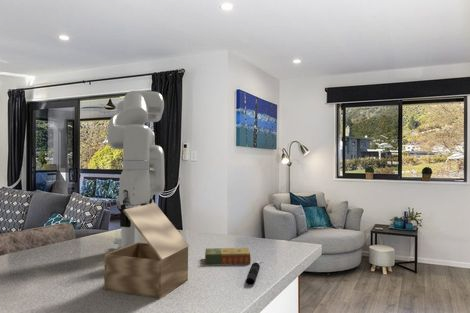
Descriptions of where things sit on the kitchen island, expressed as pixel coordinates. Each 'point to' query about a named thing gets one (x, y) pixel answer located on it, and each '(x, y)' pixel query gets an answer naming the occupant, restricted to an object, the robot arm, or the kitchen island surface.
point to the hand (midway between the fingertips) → (135, 223)
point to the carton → (227, 256)
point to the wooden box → (144, 271)
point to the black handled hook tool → (253, 273)
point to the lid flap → (156, 230)
